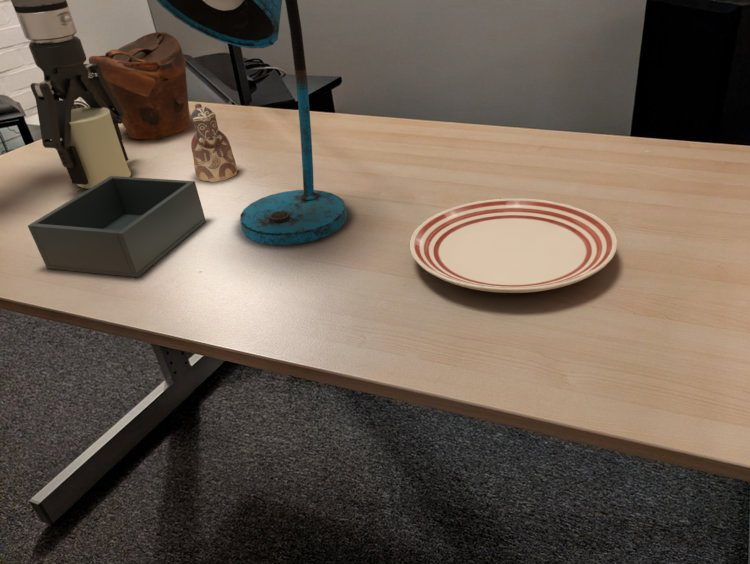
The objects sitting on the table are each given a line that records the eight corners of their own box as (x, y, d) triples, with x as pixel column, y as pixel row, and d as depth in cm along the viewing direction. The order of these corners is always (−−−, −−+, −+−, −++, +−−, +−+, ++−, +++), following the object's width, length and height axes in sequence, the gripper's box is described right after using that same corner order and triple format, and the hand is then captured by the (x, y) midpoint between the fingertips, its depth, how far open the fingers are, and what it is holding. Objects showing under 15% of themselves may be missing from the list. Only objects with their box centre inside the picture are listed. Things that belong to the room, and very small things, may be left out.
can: (136, 167, 122) (114, 101, 115) (124, 185, 115) (101, 117, 108) (84, 171, 121) (59, 106, 114) (69, 191, 114) (42, 122, 107)
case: (103, 150, 130) (70, 55, 120) (123, 120, 146) (95, 34, 136) (196, 141, 133) (171, 47, 122) (205, 113, 149) (184, 27, 138)
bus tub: (46, 268, 91) (27, 225, 87) (124, 214, 105) (110, 175, 101) (138, 277, 88) (122, 233, 84) (206, 221, 102) (194, 180, 98)
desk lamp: (196, 250, 94) (82, -136, 67) (285, 192, 110) (220, -138, 83) (290, 269, 88) (205, -143, 62) (368, 204, 104) (327, -144, 78)
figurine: (198, 184, 114) (179, 115, 107) (195, 171, 119) (177, 104, 112) (239, 177, 116) (223, 109, 109) (235, 164, 121) (219, 98, 114)
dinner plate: (385, 236, 95) (383, 215, 93) (550, 201, 103) (552, 181, 101) (456, 335, 74) (456, 310, 72) (657, 282, 82) (661, 259, 80)
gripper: (19, 55, 94) (76, 198, 107) (118, 24, 112) (156, 150, 125) (-24, 54, 96) (37, 195, 109) (81, 24, 114) (123, 148, 127)
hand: (101, 171), depth 117 cm, fingers open, 10 cm apart
